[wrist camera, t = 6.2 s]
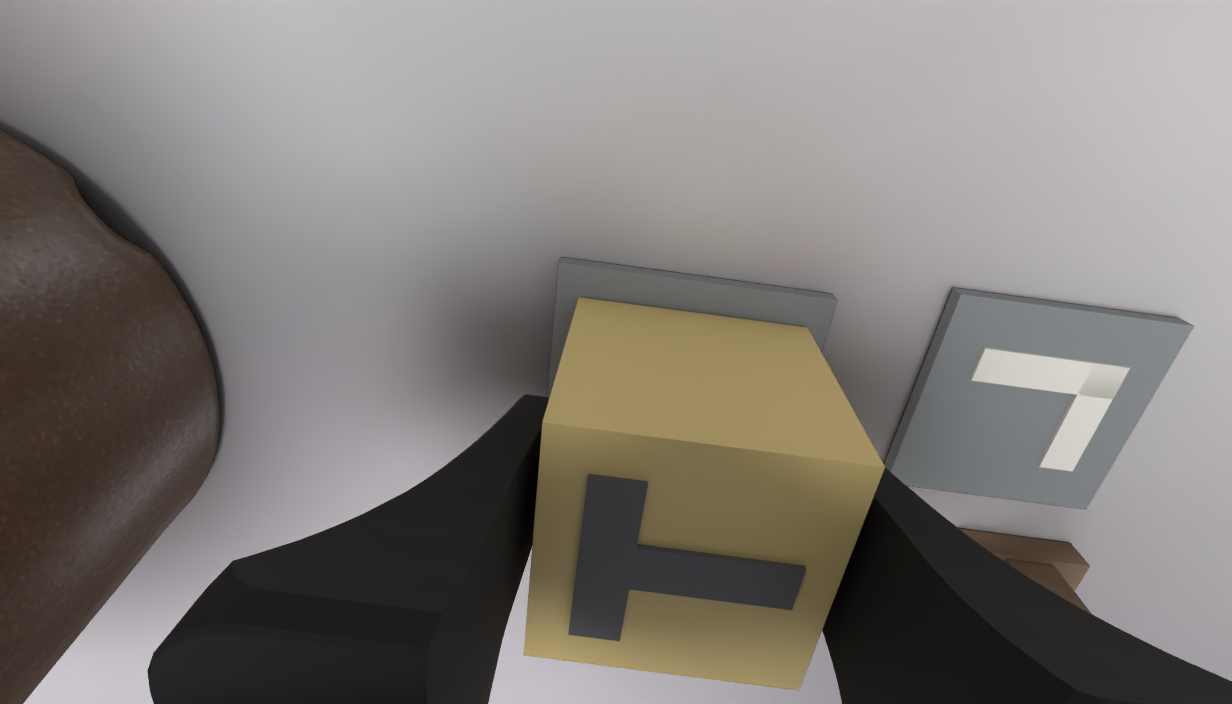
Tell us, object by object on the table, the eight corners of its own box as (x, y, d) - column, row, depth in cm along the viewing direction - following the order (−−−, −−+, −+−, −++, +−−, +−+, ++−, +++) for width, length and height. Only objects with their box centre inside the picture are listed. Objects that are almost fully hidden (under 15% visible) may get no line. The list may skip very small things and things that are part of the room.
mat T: (832, 293, 14) (838, 302, 13) (768, 506, 16) (772, 519, 16) (561, 257, 14) (558, 263, 13) (541, 476, 16) (538, 488, 16)
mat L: (1179, 318, 13) (1198, 327, 13) (1076, 498, 16) (1088, 512, 15) (952, 287, 13) (963, 296, 13) (880, 473, 16) (887, 486, 15)
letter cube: (807, 327, 13) (887, 471, 9) (756, 506, 16) (799, 695, 11) (578, 297, 13) (541, 425, 9) (560, 480, 16) (522, 660, 11)
